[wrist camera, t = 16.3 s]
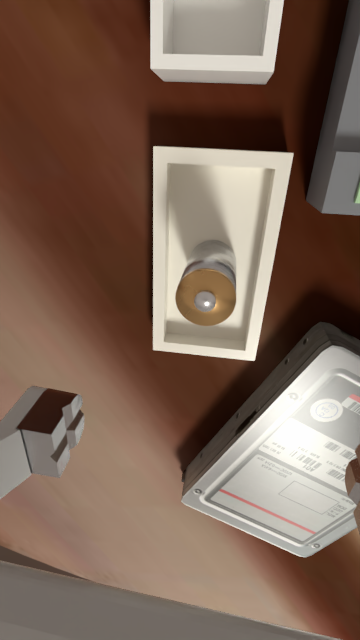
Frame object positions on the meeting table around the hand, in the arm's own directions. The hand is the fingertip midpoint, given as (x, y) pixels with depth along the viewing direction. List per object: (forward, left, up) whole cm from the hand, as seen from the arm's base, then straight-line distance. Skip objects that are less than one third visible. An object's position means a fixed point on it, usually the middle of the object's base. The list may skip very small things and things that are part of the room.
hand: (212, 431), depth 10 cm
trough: (+1, +1, -21) cm, 21 cm away
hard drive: (-12, +22, -21) cm, 33 cm away
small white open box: (+2, -14, -21) cm, 25 cm away
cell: (+1, +2, -20) cm, 20 cm away
